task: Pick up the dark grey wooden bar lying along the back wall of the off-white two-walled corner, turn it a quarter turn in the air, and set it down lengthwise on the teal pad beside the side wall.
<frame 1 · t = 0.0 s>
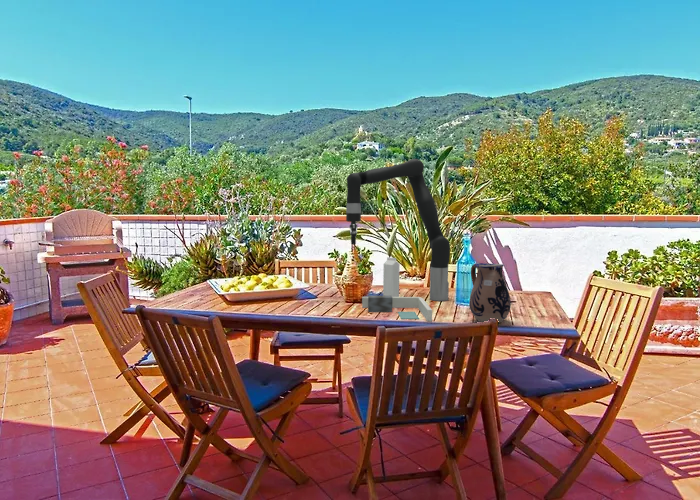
hand: (353, 243, 284), 29 cm above the table, tool pointing down, fingers open, 8 cm apart
ceramic pitcher: (486, 321, 241), on the table
bar: (380, 311, 259), on the table
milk: (391, 299, 287), on the table
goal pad: (408, 315, 250), on the table
arena: (394, 314, 253), on the table
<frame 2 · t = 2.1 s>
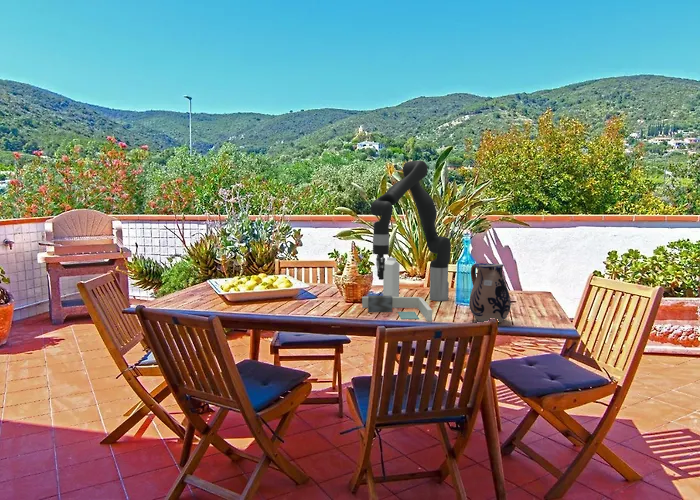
hand: (380, 278, 258), 16 cm above the table, tool pointing down, fingers open, 8 cm apart
nothing on the table moved.
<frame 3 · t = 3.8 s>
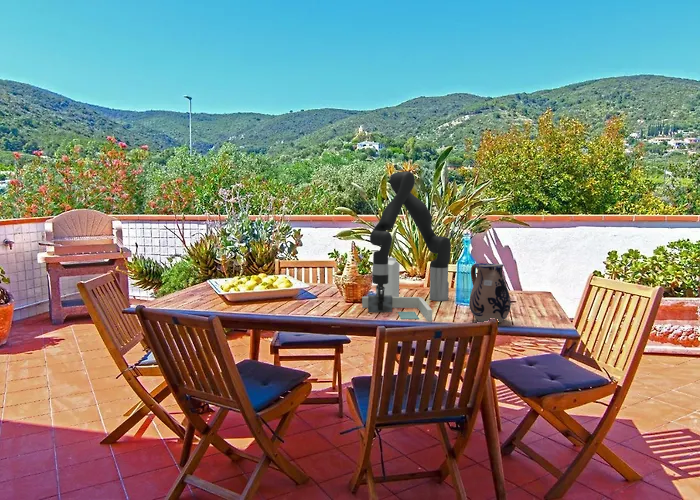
hand: (380, 308, 259), 1 cm above the table, tool pointing down, fingers closed on bar, 5 cm apart
bar: (379, 310, 259), on the table, touching gripper
everything else where it was.
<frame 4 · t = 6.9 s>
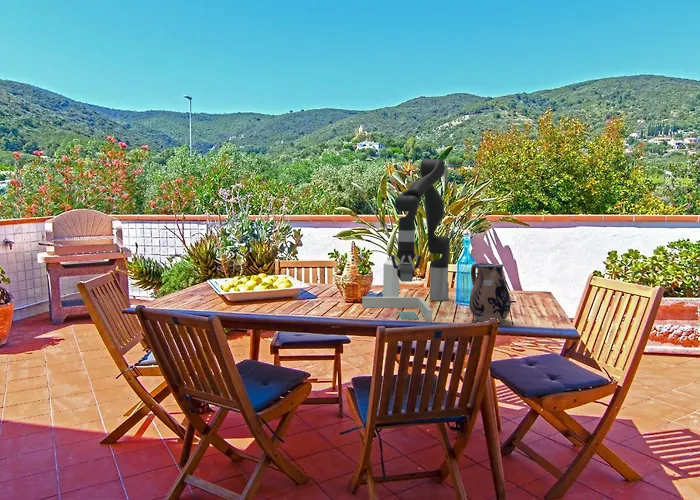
hand: (405, 277, 249), 17 cm above the table, tool pointing down, fingers closed on bar, 5 cm apart
bar: (405, 279, 249), point 16 cm above the table, touching gripper
everything else where it was.
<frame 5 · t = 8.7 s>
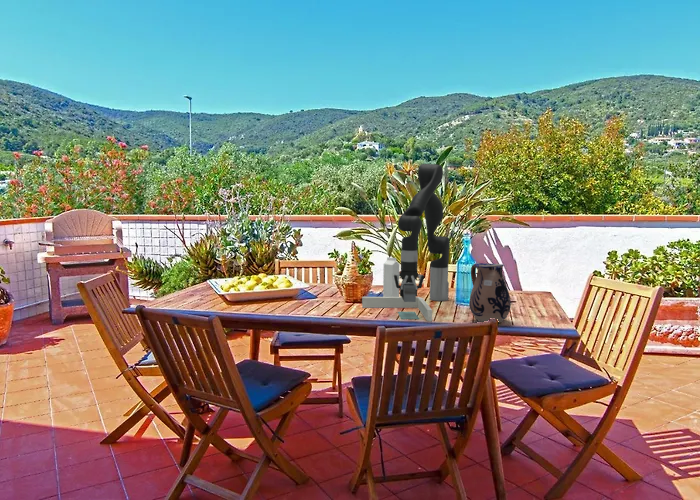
hand: (408, 297, 249), 8 cm above the table, tool pointing down, fingers closed on bar, 5 cm apart
bar: (408, 299, 249), point 7 cm above the table, touching gripper
everything else where it was.
when the fingers open (3 cm above the table, at t = 10.3 s): bar drops 1 cm, resting on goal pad.
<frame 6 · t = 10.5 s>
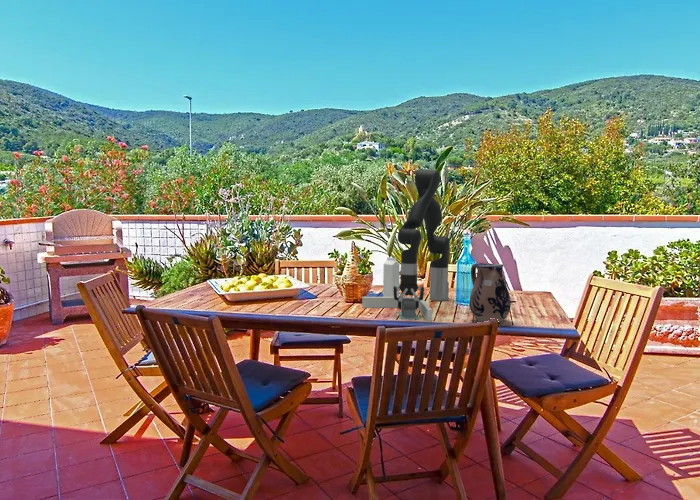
hand: (408, 309, 249), 3 cm above the table, tool pointing down, fingers open, 6 cm apart
bar: (408, 314, 250), resting on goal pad
everything else where it was.
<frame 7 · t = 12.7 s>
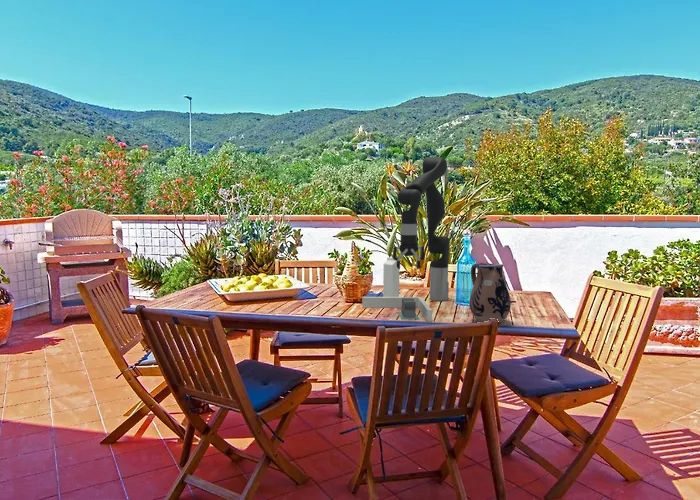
hand: (408, 269, 250), 21 cm above the table, tool pointing down, fingers open, 8 cm apart
nothing on the table moved.
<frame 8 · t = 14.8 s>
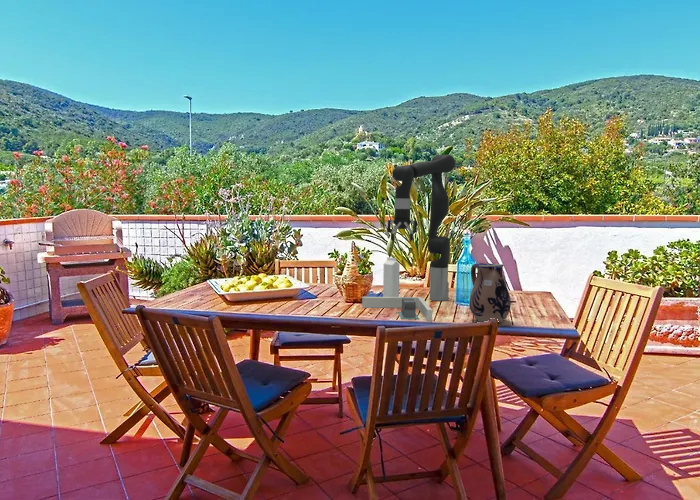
hand: (401, 241, 266), 32 cm above the table, tool pointing down, fingers open, 8 cm apart
nothing on the table moved.
at the end: bar 0.1 cm from the target spot, resting on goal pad; bar tilted 0°; the gripper is holding nothing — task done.
